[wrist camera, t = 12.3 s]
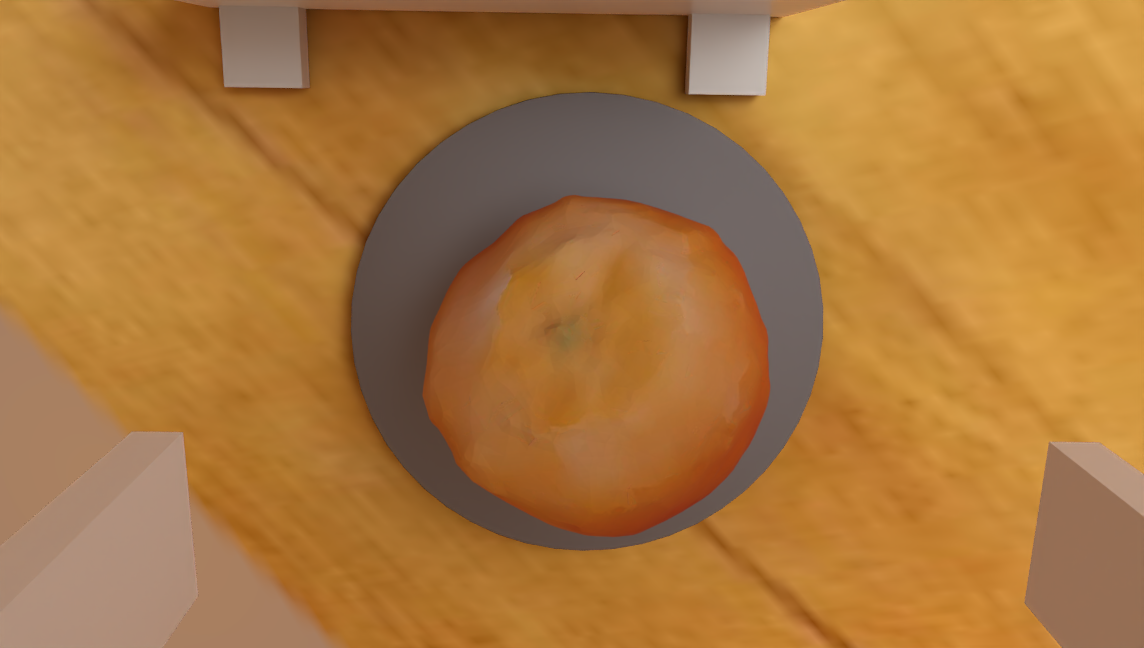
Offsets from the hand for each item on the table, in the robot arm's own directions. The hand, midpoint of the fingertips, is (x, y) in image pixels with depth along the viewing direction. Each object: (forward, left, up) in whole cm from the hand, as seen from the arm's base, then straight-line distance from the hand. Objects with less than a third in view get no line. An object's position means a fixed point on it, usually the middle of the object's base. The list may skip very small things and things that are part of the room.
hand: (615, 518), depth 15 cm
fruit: (0, 0, -13) cm, 13 cm away
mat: (0, 0, -13) cm, 13 cm away
